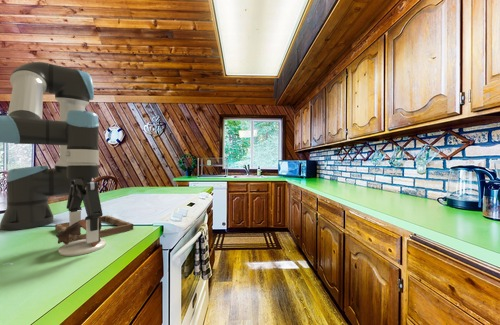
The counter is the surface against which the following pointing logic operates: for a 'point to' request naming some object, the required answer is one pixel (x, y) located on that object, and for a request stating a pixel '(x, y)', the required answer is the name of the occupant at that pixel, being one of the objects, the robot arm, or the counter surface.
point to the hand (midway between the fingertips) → (83, 237)
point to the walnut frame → (121, 227)
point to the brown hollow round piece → (74, 232)
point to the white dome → (80, 247)
